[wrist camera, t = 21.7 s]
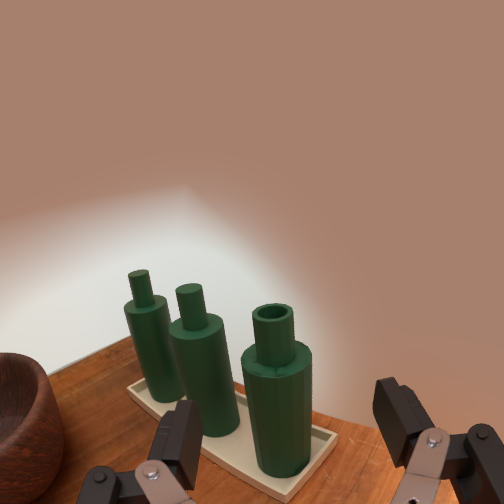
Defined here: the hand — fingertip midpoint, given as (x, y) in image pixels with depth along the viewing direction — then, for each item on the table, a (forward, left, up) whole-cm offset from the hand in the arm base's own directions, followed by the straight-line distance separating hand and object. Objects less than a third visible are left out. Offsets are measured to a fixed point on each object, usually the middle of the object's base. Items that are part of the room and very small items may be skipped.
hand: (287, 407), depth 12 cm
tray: (-2, -19, -19) cm, 27 cm away
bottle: (-5, -9, -18) cm, 21 cm away
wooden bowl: (+28, -22, -19) cm, 41 cm away
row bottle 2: (-2, -19, -19) cm, 27 cm away
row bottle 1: (+1, -28, -18) cm, 34 cm away
